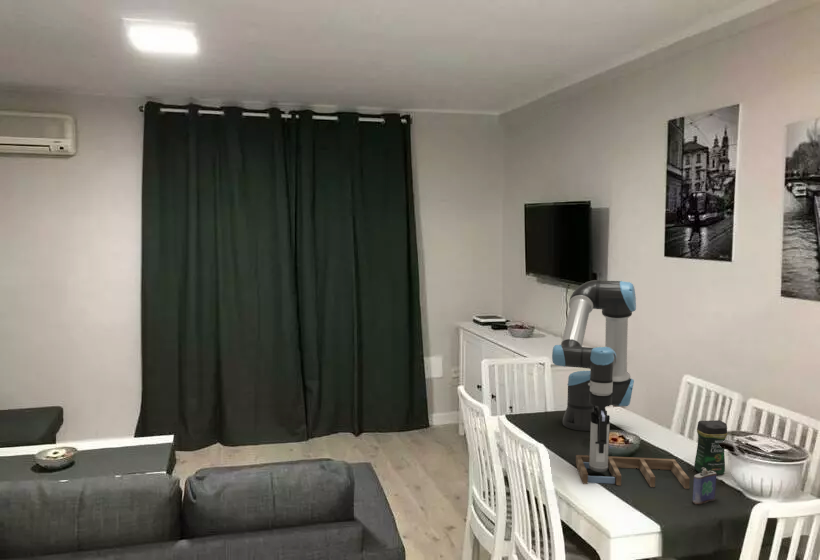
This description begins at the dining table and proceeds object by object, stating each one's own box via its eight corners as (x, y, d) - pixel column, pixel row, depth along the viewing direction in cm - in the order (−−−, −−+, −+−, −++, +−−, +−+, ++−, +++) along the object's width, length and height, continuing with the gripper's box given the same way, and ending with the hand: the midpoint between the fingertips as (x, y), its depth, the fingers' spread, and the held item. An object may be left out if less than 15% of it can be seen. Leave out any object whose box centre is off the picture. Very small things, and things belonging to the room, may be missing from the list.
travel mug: (584, 467, 233) (586, 411, 231) (599, 464, 236) (601, 409, 234) (596, 473, 228) (598, 416, 226) (611, 470, 230) (613, 414, 228)
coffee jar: (703, 476, 231) (705, 424, 230) (690, 468, 239) (693, 417, 237) (729, 475, 233) (732, 423, 231) (716, 467, 240) (718, 416, 239)
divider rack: (575, 464, 242) (576, 454, 242) (674, 468, 239) (674, 459, 238) (582, 483, 225) (583, 473, 225) (689, 488, 221) (689, 478, 221)
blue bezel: (581, 467, 239) (581, 461, 239) (607, 468, 238) (607, 463, 238) (587, 482, 226) (587, 476, 226) (614, 483, 225) (615, 478, 225)
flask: (697, 505, 209) (698, 472, 208) (689, 501, 212) (690, 469, 210) (717, 499, 213) (719, 467, 212) (709, 496, 216) (711, 464, 215)
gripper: (585, 385, 239) (583, 447, 241) (594, 400, 220) (591, 467, 222) (606, 386, 238) (604, 448, 241) (617, 401, 219) (615, 468, 222)
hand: (598, 457), depth 232 cm, fingers closed on travel mug, 6 cm apart
